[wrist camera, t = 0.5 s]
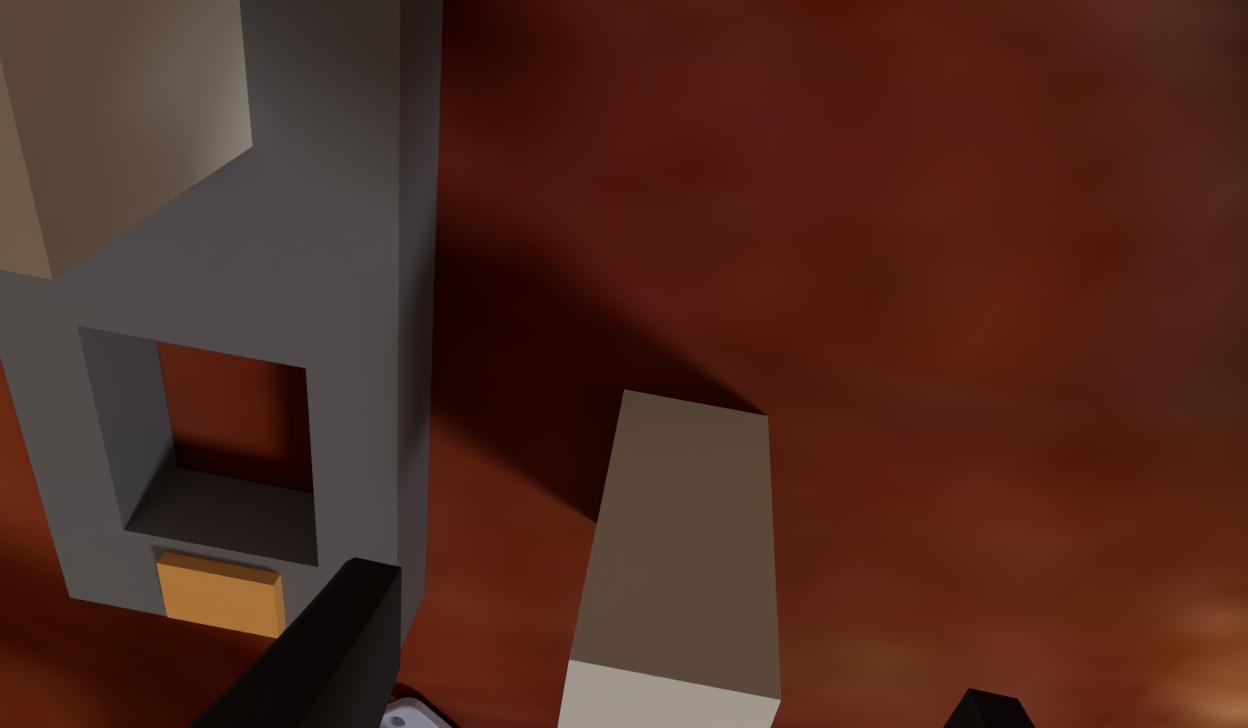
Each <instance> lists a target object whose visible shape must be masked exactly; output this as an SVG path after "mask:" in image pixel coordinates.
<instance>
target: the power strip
mask: <svg viewBox="0 0 1248 728" xmlns="http://www.w3.org/2000/svg"><path fill="white" fill-rule="evenodd" d="M442 18H443V0H0V358H1V361H2V365H3V368H4V372H5V375H6V379H7V382H8V386H9V389H10V392H11V396H12V399H13V403H14V406H15V410H16V413H17V417H18V420H19V424H20V427H21V431H22V434H23V437H24V441H25V444H26V448H27V451H28V455H29V458H30V462H31V465H32V469H33V472H34V475H35V479H36V482H37V486H38V489H39V493H40V496H41V500H42V503H43V507H44V510H45V514H46V517H47V520H48V524H49V527H50V531H51V534H52V538H53V541H54V545H55V548H56V552H57V555H58V558H59V562H60V565H61V569H62V572H63V576H64V579H65V583H66V586H67V590H68V593H69V597H70V598H75V599H80V600H86V601H91V602H96V603H101V604H107V605H112V606H117V607H122V608H127V609H133V610H138V611H143V612H148V613H153V614H159V615H164V616H167V617H169V618H174V619H179V620H185V621H190V622H195V623H200V624H206V625H211V626H216V627H221V628H226V629H232V630H237V631H242V632H247V633H252V634H258V635H263V636H268V637H273V638H278V637H279V636H280V635H281V634H282V633H283V632H284V631H285V630H286V629H287V628H288V627H289V625H290V624H291V623H292V622H293V621H294V620H295V619H296V618H297V617H298V616H299V615H300V614H301V613H302V611H303V610H304V609H305V608H306V607H307V606H308V605H309V604H310V603H311V602H312V600H313V599H314V598H315V597H316V596H317V595H318V594H319V592H320V591H321V590H322V589H323V588H324V587H325V586H326V584H327V583H328V582H329V581H330V580H331V579H332V578H333V576H334V575H335V574H336V573H337V572H338V570H339V569H340V568H341V567H342V566H343V564H344V563H345V562H346V561H348V560H350V559H352V558H354V557H357V558H361V559H366V560H371V561H375V562H380V563H385V564H390V565H394V566H399V567H402V588H401V648H402V645H403V643H404V640H405V638H406V636H407V633H408V631H409V628H410V626H411V623H412V621H413V618H414V616H415V614H416V611H417V609H418V606H419V604H420V601H421V599H422V596H423V594H424V592H425V572H426V539H427V507H428V474H429V442H430V409H431V376H432V344H433V311H434V279H435V246H436V214H437V181H438V149H439V116H440V83H441V51H442ZM156 340H157V341H162V342H167V343H173V344H178V345H184V346H189V347H194V348H200V349H205V350H210V351H216V352H221V353H227V354H232V355H237V356H243V357H248V358H253V359H259V360H264V361H270V362H275V363H280V364H286V365H291V366H296V367H302V368H306V377H307V393H308V409H309V425H310V441H311V456H312V472H313V488H314V493H309V492H304V491H299V490H293V489H288V488H283V487H278V486H272V485H267V484H262V483H256V482H251V481H246V480H240V479H235V478H230V477H225V476H219V475H214V474H209V473H203V472H198V471H193V470H187V469H182V468H178V465H177V460H176V454H175V448H174V442H173V436H172V430H171V425H170V419H169V413H168V407H167V401H166V395H165V390H164V384H163V378H162V372H161V366H160V360H159V355H158V349H157V343H156Z"/></svg>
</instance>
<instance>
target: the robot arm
mask: <svg viewBox="0 0 1248 728" xmlns="http://www.w3.org/2000/svg"><path fill="white" fill-rule="evenodd" d="M401 588H402V567H399V566H394V565H390V564H385V563H380V562H375V561H371V560H366V559H361V558H357V557H354V558H352V559H350V560H348V561H346V562H345V563H344V564H343V566H342V567H341V568H340V569H339V570H338V572H337V573H336V574H335V575H334V576H333V578H332V579H331V580H330V581H329V582H328V583H327V584H326V586H325V587H324V588H323V589H322V590H321V591H320V592H319V594H318V595H317V596H316V597H315V598H314V599H313V600H312V602H311V603H310V604H309V605H308V606H307V607H306V608H305V609H304V610H303V611H302V613H301V614H300V615H299V616H298V617H297V618H296V619H295V620H294V621H293V622H292V623H291V624H290V625H289V627H288V628H287V629H286V630H285V631H284V632H283V633H282V634H281V635H280V636H279V637H278V638H277V639H276V640H275V641H274V642H273V643H272V644H271V646H270V647H269V648H268V649H267V650H266V651H265V652H264V653H263V654H262V655H261V656H260V657H259V658H258V659H257V660H256V661H255V662H254V663H253V664H252V665H251V666H250V667H249V668H248V669H247V670H246V671H245V672H244V673H243V674H242V675H241V676H240V677H239V678H238V679H237V680H236V681H235V682H234V683H233V684H232V685H231V686H230V687H229V688H228V689H227V690H226V691H225V692H224V693H223V694H222V695H221V696H220V697H218V698H217V699H216V700H215V701H214V702H213V703H212V704H211V705H210V706H209V707H208V708H207V709H206V710H205V711H204V712H203V713H202V714H201V715H199V716H198V717H197V718H196V719H195V720H194V721H193V722H192V723H191V724H190V725H188V726H187V727H186V728H452V727H451V726H449V725H448V724H447V723H446V722H445V721H444V720H442V719H441V718H440V717H439V716H438V715H436V714H435V713H434V712H433V711H432V710H431V709H429V708H428V707H427V706H426V705H425V704H423V703H422V702H421V701H419V700H418V699H415V698H411V697H405V698H401V699H399V700H396V701H394V702H392V703H390V704H388V701H389V698H390V695H391V692H392V689H393V687H394V684H395V681H396V678H397V675H398V672H399V669H400V650H401ZM943 728H1035V727H1034V725H1033V723H1032V722H1031V720H1030V718H1029V717H1028V715H1027V713H1026V712H1025V710H1024V708H1023V707H1022V705H1021V703H1020V702H1019V700H1018V699H1017V698H1012V697H1008V696H1003V695H998V694H994V693H989V692H984V691H980V690H975V689H970V688H969V689H968V691H967V692H966V694H965V695H964V697H963V698H962V700H961V701H960V703H959V704H958V706H957V707H956V709H955V710H954V712H953V713H952V715H951V717H950V718H949V720H948V721H947V723H946V724H945V726H944V727H943Z"/></svg>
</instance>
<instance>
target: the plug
mask: <svg viewBox="0 0 1248 728" xmlns="http://www.w3.org/2000/svg"><path fill="white" fill-rule="evenodd" d="M780 701H781V692H780V670H779V649H778V627H777V606H776V584H775V562H774V541H773V519H772V498H771V476H770V455H769V433H768V416H765V415H759V414H754V413H748V412H743V411H738V410H732V409H727V408H722V407H716V406H711V405H705V404H700V403H695V402H689V401H684V400H679V399H673V398H668V397H662V396H657V395H652V394H646V393H641V392H635V391H630V390H625V389H624V394H623V399H622V403H621V408H620V413H619V418H618V423H617V428H616V433H615V438H614V443H613V448H612V453H611V457H610V462H609V467H608V472H607V477H606V482H605V487H604V492H603V497H602V502H601V507H600V511H599V516H598V521H597V526H596V531H595V536H594V541H593V546H592V551H591V556H590V561H589V565H588V570H587V575H586V580H585V585H584V590H583V595H582V600H581V605H580V610H579V615H578V619H577V624H576V629H575V634H574V639H573V644H572V649H571V654H570V659H569V664H568V670H567V676H566V682H565V688H564V694H563V700H562V705H561V711H560V717H559V723H558V728H770V727H771V724H772V722H773V719H774V717H775V714H776V711H777V709H778V706H779V704H780Z"/></svg>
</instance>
